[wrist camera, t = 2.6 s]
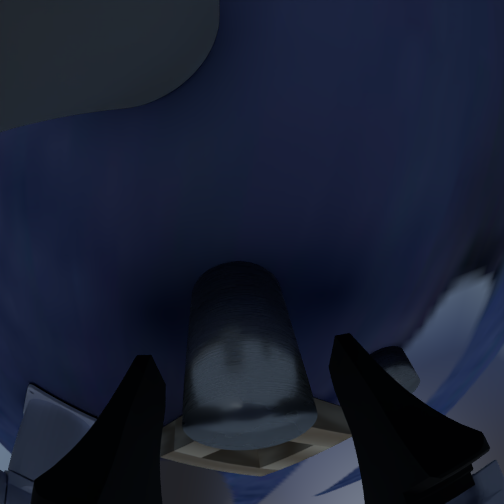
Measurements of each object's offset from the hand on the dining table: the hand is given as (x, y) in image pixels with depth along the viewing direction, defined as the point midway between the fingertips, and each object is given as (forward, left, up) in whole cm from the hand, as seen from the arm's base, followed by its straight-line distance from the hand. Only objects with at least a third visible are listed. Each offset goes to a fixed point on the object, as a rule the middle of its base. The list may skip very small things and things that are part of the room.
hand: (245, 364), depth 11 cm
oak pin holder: (-10, -10, -4) cm, 15 cm away
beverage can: (+7, +11, -4) cm, 14 cm away
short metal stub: (+1, -13, -4) cm, 14 cm away
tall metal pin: (0, 0, -4) cm, 4 cm away
